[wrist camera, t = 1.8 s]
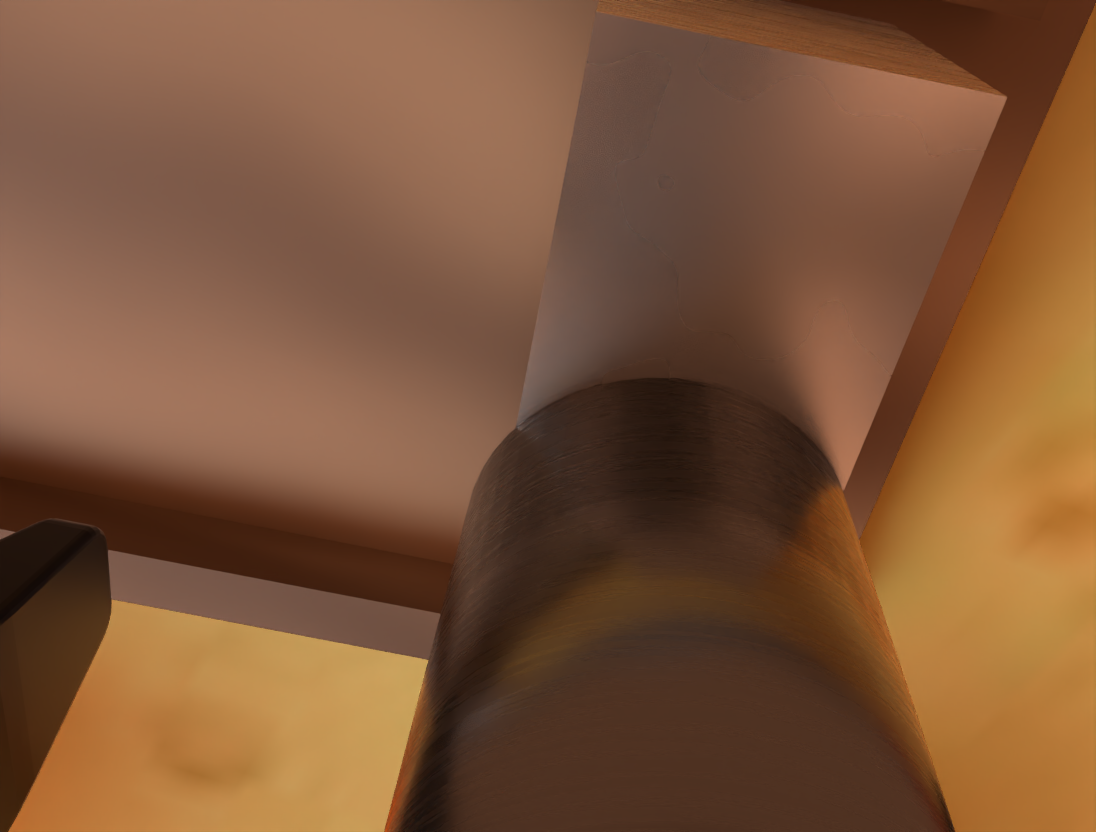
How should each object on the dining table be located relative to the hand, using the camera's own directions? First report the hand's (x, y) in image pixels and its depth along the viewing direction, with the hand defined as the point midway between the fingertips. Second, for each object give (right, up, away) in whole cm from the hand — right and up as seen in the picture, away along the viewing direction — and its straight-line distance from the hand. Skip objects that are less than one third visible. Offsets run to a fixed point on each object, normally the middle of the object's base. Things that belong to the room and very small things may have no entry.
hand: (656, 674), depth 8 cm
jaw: (0, +3, +5) cm, 5 cm away
